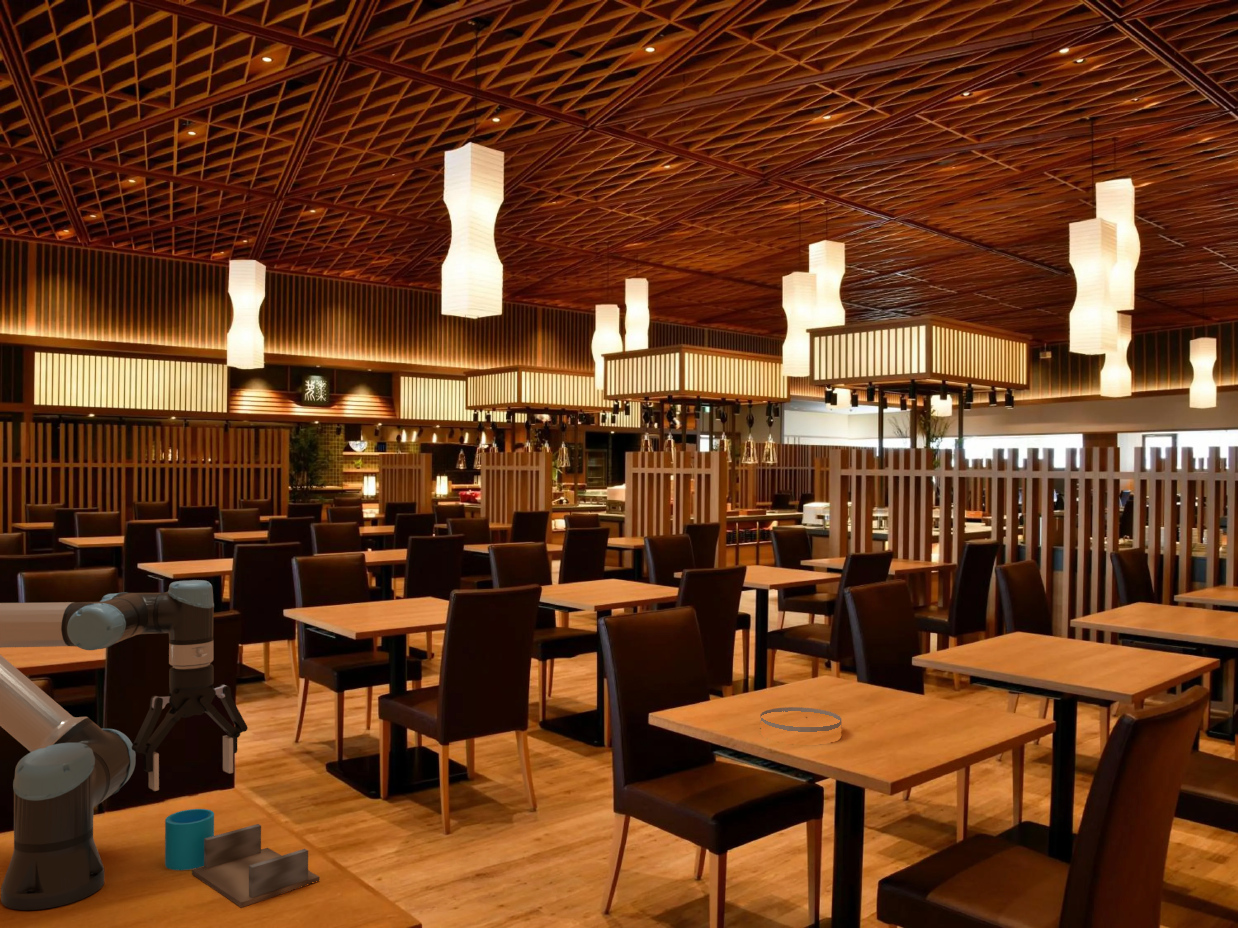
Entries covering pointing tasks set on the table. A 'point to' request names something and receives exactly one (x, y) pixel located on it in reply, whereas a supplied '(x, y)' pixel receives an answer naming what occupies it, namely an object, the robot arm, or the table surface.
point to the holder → (251, 867)
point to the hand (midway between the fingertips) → (191, 780)
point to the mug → (187, 838)
